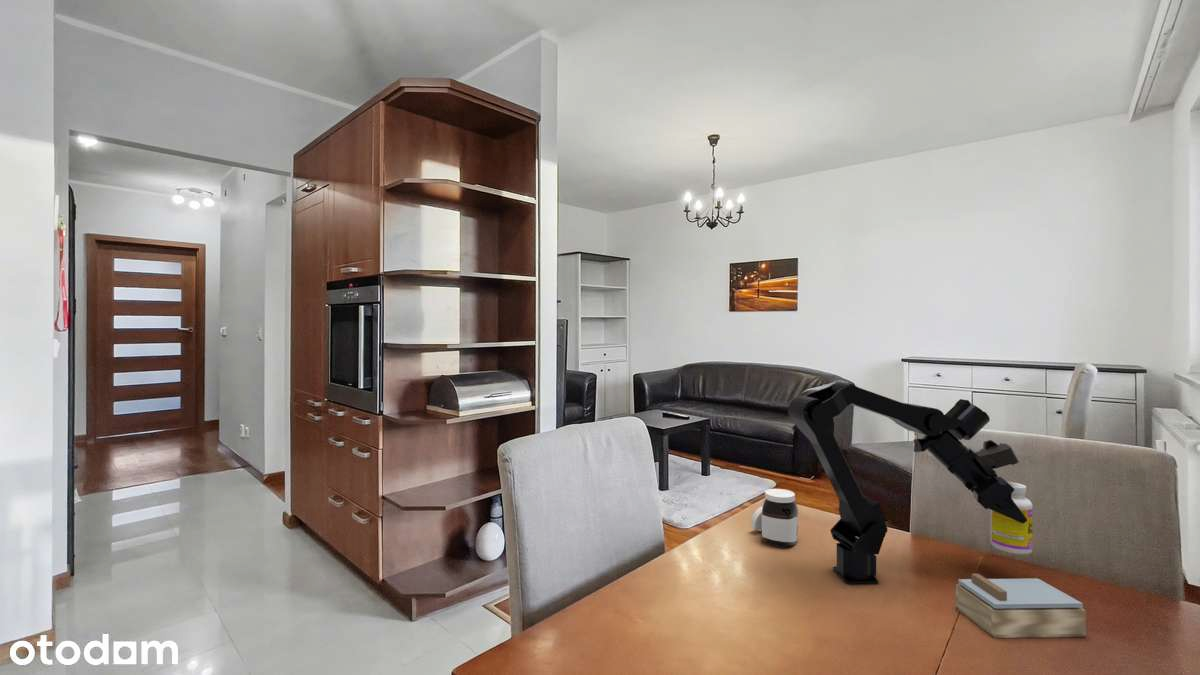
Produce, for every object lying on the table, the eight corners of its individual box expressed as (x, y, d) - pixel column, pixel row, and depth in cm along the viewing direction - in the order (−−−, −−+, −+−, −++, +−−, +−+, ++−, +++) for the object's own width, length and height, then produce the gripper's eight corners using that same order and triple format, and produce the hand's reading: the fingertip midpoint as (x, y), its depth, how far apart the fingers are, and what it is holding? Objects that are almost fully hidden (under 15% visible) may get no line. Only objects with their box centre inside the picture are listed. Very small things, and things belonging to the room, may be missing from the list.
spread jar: (791, 552, 118) (791, 501, 118) (742, 541, 124) (742, 493, 124) (803, 534, 128) (802, 487, 128) (757, 525, 134) (757, 481, 134)
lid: (995, 608, 85) (995, 595, 85) (958, 583, 93) (958, 571, 93) (1082, 607, 85) (1082, 594, 85) (1037, 582, 93) (1037, 570, 93)
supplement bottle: (1035, 558, 99) (1035, 491, 99) (991, 550, 102) (991, 485, 102) (1029, 546, 104) (1030, 483, 104) (988, 539, 108) (989, 478, 108)
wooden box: (994, 637, 84) (994, 611, 84) (956, 608, 93) (955, 584, 93) (1085, 636, 85) (1085, 610, 84) (1038, 607, 94) (1038, 583, 93)
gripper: (1000, 438, 96) (1076, 505, 92) (976, 422, 113) (1039, 478, 109) (950, 475, 100) (1020, 542, 95) (933, 454, 117) (992, 510, 112)
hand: (1019, 516), depth 103 cm, fingers closed on supplement bottle, 7 cm apart
